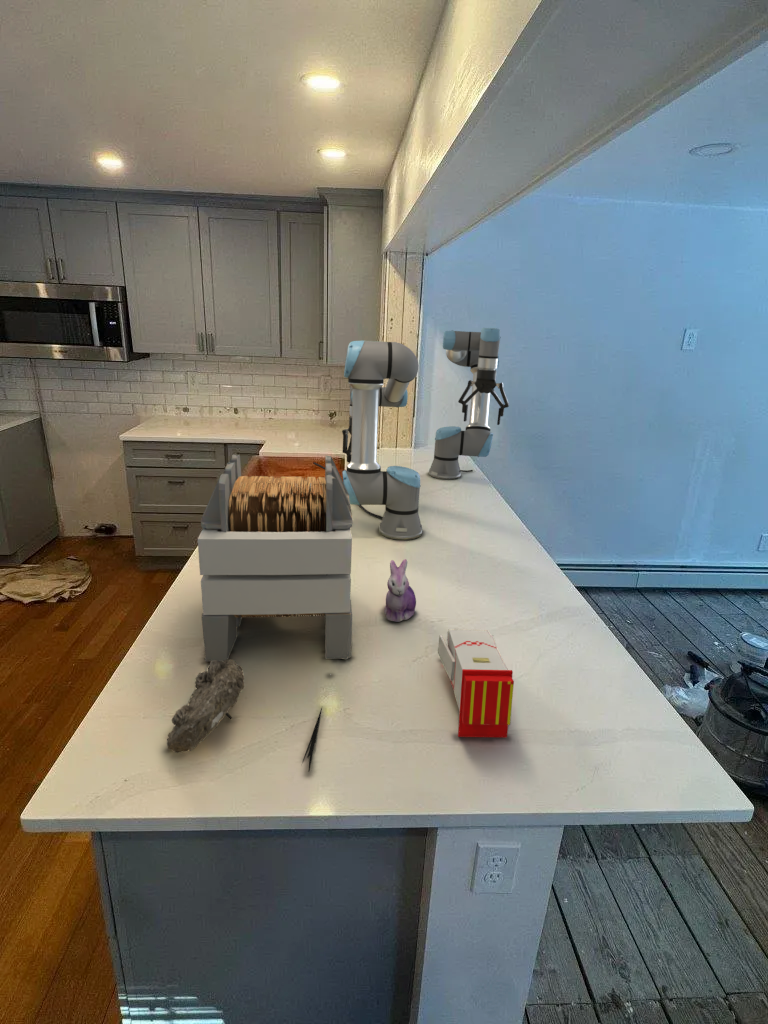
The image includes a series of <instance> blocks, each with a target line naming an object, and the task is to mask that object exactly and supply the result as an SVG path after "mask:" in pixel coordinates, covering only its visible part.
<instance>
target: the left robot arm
mask: <svg viewBox="0 0 768 1024" xmlns="http://www.w3.org/2000/svg"><path fill="white" fill-rule="evenodd" d="M345 356H346V357H345V362H344V371H343V377H344V378H346V379H347V383H348V385H349V409H348V411H349V412H348V413H349V418H348V428H347V429H346V428H345V429H342V431H341V433H342V454H345V455H346V462H347V464H346V469H344V470H342V481H343V483H344V485H345V487H346V489H347V492H348V494H349V500H350V505H356V506H358V507H359V508H360V509H361V510H362V511H364V512H365V513H366V514H367V515H369V516H372V517H374V518H378V519H381V522H379V526H378V533H379V534H380V535H381V536H382V537H385V538H387V539H389V540H395V541H410V540H415V539H418V538H420V537H421V536H422V535H423V525H422V524H421V518H420V515H419V507H420V506H419V505H420V504H419V503H420V490H421V475H420V473H419V472H418V471H416V470H415V469H412V468H410V467H406V466H401V465H390V466H387V468H386V470H382V467H381V464H379V462H378V461H377V458H378V456H377V455H378V430H379V429H378V428H379V427H378V425H379V407H383V408H406V406H407V405H408V400H409V399H408V398H409V395H408V393H409V392H408V387H409V385H410V382H412V381H413V380H414V379H415V378H416V377H417V374H418V373H419V360H418V358H417V356H416V354H415V353H414V351H412V349H411V348H409V347H408V346H407V345H405V344H403V343H400V342H396V341H375V340H364V339H363V340H352V341H350V342H349V343H348V345H347V350H346V355H345ZM385 380H387V382H386V386H384V381H385ZM349 435H350V438H349ZM348 442H349V443H348ZM313 465H315V466H317V467H319V468H321V469H322V470H325V466H323V465H321V464H320V463H317V462H315V461H314V462H313ZM364 506H385V507H384V508H385V509H384V513H383V515H380V514H376V513H373V512H371V511H369V510H367V509H366V508H365V507H364Z"/></svg>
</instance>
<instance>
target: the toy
mask: <svg viewBox="0 0 768 1024" xmlns="http://www.w3.org/2000/svg"><path fill="white" fill-rule="evenodd" d="M446 640H447V643H446V641H445V639H444V636H443V635H442V634H439V637H438V646H437V656H438V657H439V659H440V661H441V663H442V666H443V668H444V670H445V672H446V674H447V677H448V679H449V681H450V684H451V687H452V690H453V693H454V697H455V701H456V705H457V708H458V711H459V714H458V715H459V716H458V730H457V731H458V732H457V737H458V738H508V731H509V726H510V725H511V717H512V707H513V697H514V696H513V695H514V684H515V680H514V679H513V673H514V671H513V670H512V669H508V667H507V665H506V662H505V661H504V659H503V658H502V655H501V653H500V651H499V649H498V647H497V643H496V639H495V637H494V635H493V634H491V632H490V631H489V629H467V628H466V629H465V628H463V629H461V628H460V629H459V628H448V630H447V639H446Z"/></svg>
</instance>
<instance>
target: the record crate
mask: <svg viewBox="0 0 768 1024" xmlns="http://www.w3.org/2000/svg"><path fill="white" fill-rule="evenodd" d="M324 457H325V458H324V459H325V461H324V462H325V463H324V464H325V465H324V467H325V469H324V476H318V477H316V476H307V477H303V476H288V475H287V476H280V477H279V476H274V475H270V476H268V475H259V476H258V475H255V476H254V475H250V476H247V475H242V466H241V456H240V454H231V457H230V459H229V462H227V463H226V466H225V467H224V470H223V472H222V474H220V476H219V478H218V480H217V482H216V484H215V487H214V488H213V491H212V493H211V496H210V498H209V500H208V502H207V505H206V507H205V509H204V511H203V513H202V516H201V518H200V527H201V532H200V533H199V535H198V537H197V550H198V565H199V576H202V577H201V579H200V590H201V591H200V592H201V606H202V607H201V608H202V613H201V626H202V627H201V629H202V640H203V646H204V658H203V660H204V662H208V663H210V662H211V661H212V660H217V661H222V662H223V661H224V660H227V659H228V660H229V658H230V655H231V653H232V650H233V648H234V645H235V643H236V640H237V638H238V628H240V625H241V621H242V619H243V618H282V617H283V618H289V617H290V618H293V617H297V618H298V617H314V616H315V617H320V616H321V617H324V653H325V654H324V655H325V660H338V659H339V660H348V659H350V658H352V644H353V643H352V641H353V639H352V638H353V610H352V600H351V588H352V587H351V586H352V582H351V581H352V577H351V574H352V553H353V552H352V548H353V547H352V546H353V537H352V530H351V528H352V527H353V523H354V520H353V513H352V506H351V504H350V500H349V494H348V492H347V489H346V487H345V485H344V482H343V478H342V477H341V474H340V472H339V470H338V468H337V466H336V463H335V461H334V460H333V457H332V455H328V454H327V455H326V454H325V456H324Z"/></svg>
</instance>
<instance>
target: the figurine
mask: <svg viewBox="0 0 768 1024" xmlns="http://www.w3.org/2000/svg"><path fill="white" fill-rule="evenodd" d="M407 567H408V559H406V558H404V559H403V560H402V561H401V563H400V565H399V566H398V565H397V563H396V562H395V561H394V560H393V559H391V560H390V561H389V570H390V576H389V578H388V579H387V589H388V591H387V592H386V594H385V595H386V596H385V607H384V615H385V616H386V620H387V621H391V622H395V623H400V622H402V621H406V620H409V619H410V618H411V617H413V616H414V615H415V610H416V606H417V597H416V593H415V591H414V590H413V587H411V586H410V582H409V579H408V577H407V574H406V571H407Z"/></svg>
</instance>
